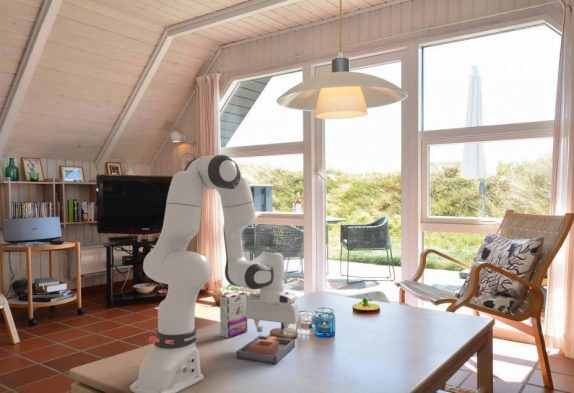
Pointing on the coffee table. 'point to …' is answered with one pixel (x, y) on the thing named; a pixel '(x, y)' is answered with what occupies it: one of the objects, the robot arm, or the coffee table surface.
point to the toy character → (365, 302)
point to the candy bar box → (233, 314)
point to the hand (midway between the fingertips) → (271, 333)
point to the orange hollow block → (265, 346)
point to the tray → (284, 349)
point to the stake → (290, 333)
